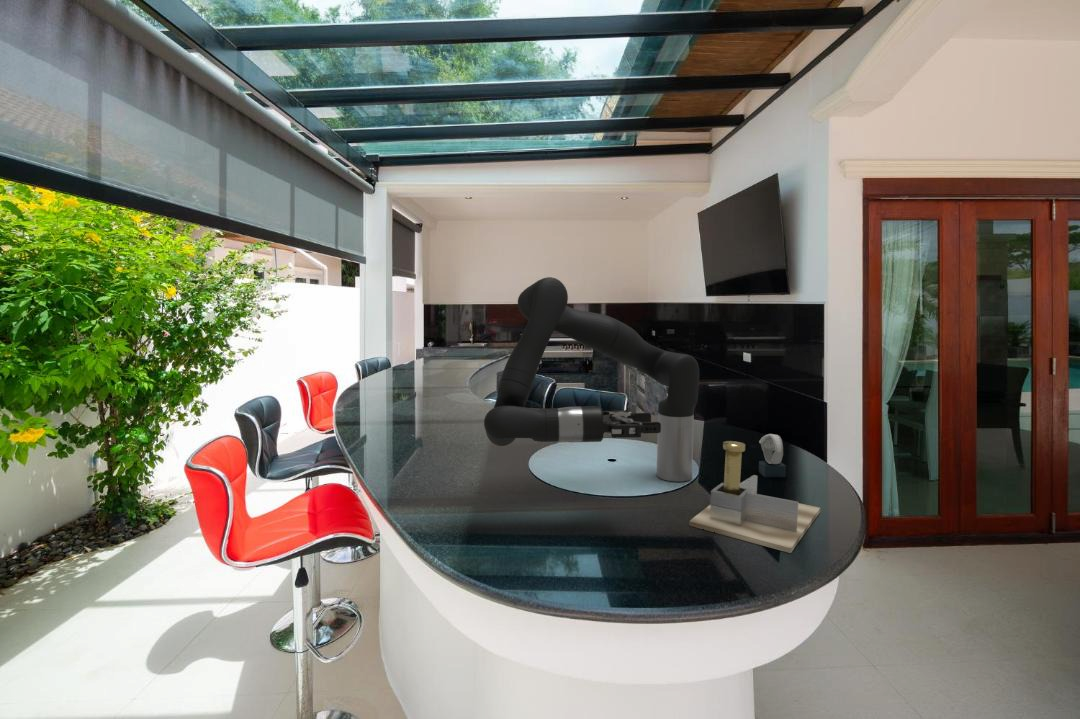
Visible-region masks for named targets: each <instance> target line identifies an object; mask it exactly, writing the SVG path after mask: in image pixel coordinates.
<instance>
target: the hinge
mask: <svg viewBox="0 0 1080 719" xmlns="http://www.w3.org/2000/svg"><path fill="white" fill-rule="evenodd" d="M723 490H724V482H721V483H720V484H718V485H716V486H715V487H714V488H713V489H712V490H710V504H709V505H710V518H712V519H716V520H720V521H724V522H728V523H732V524H736V525H739V526H741V525H742V524H743V523H744V522H745V521H748V522H753V523H757V524H762V525H767V526H771V527H776V528H781V529H785V530H790V531H794V532H797V520H798V503H799V501H797V500H792V499H786V498H780V497H775V496H769V495H763V494H760V493H758V475H756V474H753V475H751V476H750V477H748V478H746V479H745V480H743V481H742V482H741V481H740V490H739V496H738V495H734V494H729V493H725V492H723Z"/></svg>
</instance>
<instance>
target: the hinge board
mask: <svg viewBox="0 0 1080 719" xmlns="http://www.w3.org/2000/svg"><path fill="white" fill-rule="evenodd" d="M820 513H821V507H819V506H815V505H809V504H806V503H805V504H804V503H799V502H798V520H797V532H794V531H790V530H785V529H781V528H776V527H771V526H767V525H762V524H757V523H753V522H748V521H745V522H744V523H743V524H742V525H741V526H739V525H736V524H732V523H728V522H724V521H720V520H716V519H712V518H710V504H709V505H707V507H705V508H704V509H703V510H701V511H700V512H699V513H697V514H696V515H695V516H694V517H692V518H691V519H690V520H689V521H688V523H689V524H688V525H689V527H692V528H697V529H700V530H703V529H704V530H703V531H707V532H712V533H714V532H715V533H714V534H718V535H722V536H726V537H730V538H733V539H738V540H739V541H740V540H741V541H744V542H748V543H752V544H755V545H759V546H763V547H767V548H769V549H770V548H771V549H774V550H778V551H781V552H784V553H789V554H792V553H793V551H794V549H795V548H796V546H797V545H798V544H799V542H800V541H801V539H802V538H803V536H804V535H805V534H806V532H807V531H808V530H809V528H810V527H811V525H812V524H813V522H814V521H815V520H816V518H817V517H818V516H819V514H820Z"/></svg>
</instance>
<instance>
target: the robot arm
mask: <svg viewBox="0 0 1080 719" xmlns="http://www.w3.org/2000/svg"><path fill="white" fill-rule="evenodd" d="M568 300H569V294H568V290H567V289H566V286H565V284H564V283H563V282H562V281H561V280H559V279H558V278H555V277H552V276H551V277H550V276H548V277H544V278H541V279H539V280H537V281H535V282H534V283H532V284H531V285H529V286H528V287H526V288H525V289H523V291H522V292H520V294H519V296H518V299H517V307H518V310H519V312H520V313H521V315H522V317H524V318H525V319H526V320H527V321H528V322H527V324H526V326H525V328H524V330H523V333H522V334H521V336H520V337H519V340H518V341H517V343H516V345H515V346H514V348H513V350H512V352H511V353H510V355H509V357H508V358H507V361H506V364H505V365H504V369H503V371H502V374H501V377H500V380H499V383H498V387H497V392H496V393H497V394H496V396H497V397H496V400H495V403H494V406H493V408H492V409H490V410H489V411H488V412H486V414H485V416H484V420H483V426H484V431H485V434H486V436H487V438H488V440H489V441H490V442H491V444H494V445H496V446H499V447H506V446H508V445H511V444H512V443H513V442H514V441H515V440H516V439H530V440H532V441H534V442H537V443H538V442H540V443H549V442H551V443H556V442H557V443H558V442H562V443H601V442H602V441H603V439H604V434H605V433H608V434H609V433H610V434H611V436H610V437H611V438H613V439H615V438H616V439H617V438H618V439H619V438H637V439H638V438H641V437H642V436H643V434H657V447H656V476H657V478H659V479H661V480H665V481H668V482H676V483H677V482H678V483H679V482H682V483H683V482H687V481H690V480H692V478H693V459H694V458H693V456H694V455H693V454H694V427H695V425H694V423H695V422H694V421H695V420H694V418H695V416H694V415H695V409H696V408H695V407H696V405H697V404H698V400H699V399H698V398H699V388H700V386H699V385H700V367H699V363H698V361H697V360H696V358H695V357H694V356H692V355H689V354H685V353H679V352H673V351H672V352H671V351H667V350H664V349H662V348H659V347H657V346H655V345H652V344H650V342H647V341H646V340H644V339H643V337H641V335H639V332H637V331H636V330H635V329H633V328H632V327H631V326H629V325H628V324H626V323H624V322H622V321H620V320H618V319H616V318H614V317H611V316H610V315H606V314H603V313H597V312H590V311H586V310H579V309H575V308H573V307H571V306H568ZM554 332H555V333H559V334H560V335H561V334H562V335H564V336H566V337H568V338H570V339H572V340H574V341H576V342H578V343H580V344H582V345H584V346H586V347H589V349H592V350H593V351H596V352H598V353H599V354H601V355H603V356H606V357H607V358H609V359H612V360H615V361H617V362H619V363H621V364H624V365H626V366H630V367H632V368H635V369H637V370H639V371H641V372H642V373H643V374H645V375H647V376H648V377H650V378H652V379H653V380H655V382H658V383H659V384H660V385H662V386H665V387H668V389H667V397H666V399H664V400H660V401H659V402H658V406H657V421H652V414H651V413H650V412H632V411H629V410H628V409H624V410H604V411H603V409H602V407H601V406H599V405H592V406H591V405H590V406H589V405H588V406H567V407H566V406H565V407H559V408H551V407H550V408H538V409H537V408H531V407H526V403H527V401H528V398H529V396H530V394H531V391H532V388H533V385H534V381H535V379H536V375H537V373H538V369H539V366H540V364H541V361H542V358H543V355H544V353H545V351H546V348H547V346H548V344H549V342H550V339H551V337H552V336H553V333H554Z"/></svg>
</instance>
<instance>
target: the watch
mask: <svg viewBox="0 0 1080 719" xmlns="http://www.w3.org/2000/svg"><path fill="white" fill-rule="evenodd" d="M758 443H759V444H760V446H761V450H762V452H763V456H764V459H765V460H759V461H758V473H759V474H760V475H761V476H763V478H786V476H787V465H786V464H784V463H783V462H782V460H783V456H784V446H783V439H782V438H781V436H780V435H778V434H773V433H768V434H765V435H763V436H762V437H761V438H760V440H759V441H758Z"/></svg>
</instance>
